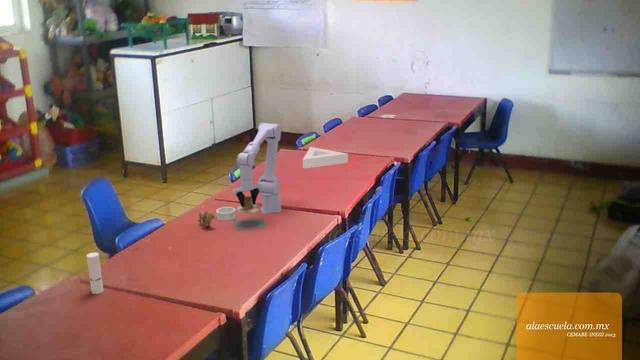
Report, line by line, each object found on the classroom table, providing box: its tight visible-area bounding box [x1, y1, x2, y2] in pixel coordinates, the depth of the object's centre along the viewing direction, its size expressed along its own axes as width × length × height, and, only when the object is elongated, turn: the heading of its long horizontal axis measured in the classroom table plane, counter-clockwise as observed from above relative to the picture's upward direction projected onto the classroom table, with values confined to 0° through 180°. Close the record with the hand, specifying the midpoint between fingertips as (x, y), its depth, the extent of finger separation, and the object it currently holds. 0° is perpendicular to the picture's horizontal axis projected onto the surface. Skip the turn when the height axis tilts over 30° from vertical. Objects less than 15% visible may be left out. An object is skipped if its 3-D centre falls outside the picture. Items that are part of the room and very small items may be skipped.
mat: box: [233, 216, 268, 232], centre depth 308 cm, size 14×14×1 cm
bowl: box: [215, 206, 237, 222], centre depth 317 cm, size 9×9×4 cm
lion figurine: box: [198, 210, 216, 231], centre depth 306 cm, size 15×5×9 cm, turn 36°
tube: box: [86, 252, 104, 295], centre depth 244 cm, size 4×4×15 cm
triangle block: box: [302, 146, 349, 169], centre depth 406 cm, size 30×26×6 cm
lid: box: [236, 195, 261, 214], centre depth 305 cm, size 11×11×6 cm
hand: (248, 205), depth 306 cm, fingers closed on lid, 5 cm apart
